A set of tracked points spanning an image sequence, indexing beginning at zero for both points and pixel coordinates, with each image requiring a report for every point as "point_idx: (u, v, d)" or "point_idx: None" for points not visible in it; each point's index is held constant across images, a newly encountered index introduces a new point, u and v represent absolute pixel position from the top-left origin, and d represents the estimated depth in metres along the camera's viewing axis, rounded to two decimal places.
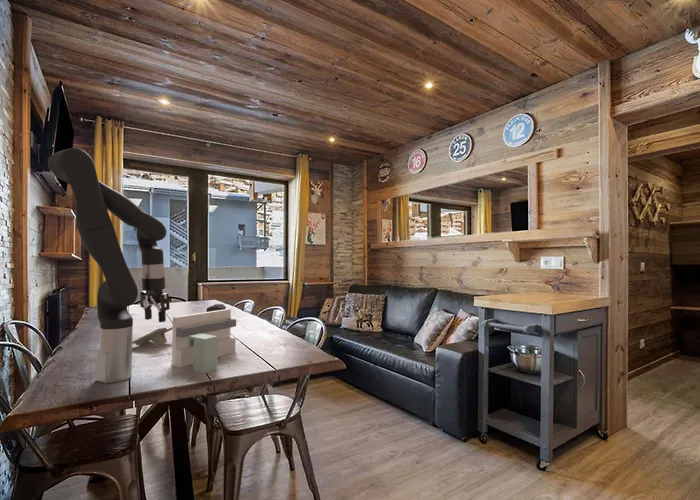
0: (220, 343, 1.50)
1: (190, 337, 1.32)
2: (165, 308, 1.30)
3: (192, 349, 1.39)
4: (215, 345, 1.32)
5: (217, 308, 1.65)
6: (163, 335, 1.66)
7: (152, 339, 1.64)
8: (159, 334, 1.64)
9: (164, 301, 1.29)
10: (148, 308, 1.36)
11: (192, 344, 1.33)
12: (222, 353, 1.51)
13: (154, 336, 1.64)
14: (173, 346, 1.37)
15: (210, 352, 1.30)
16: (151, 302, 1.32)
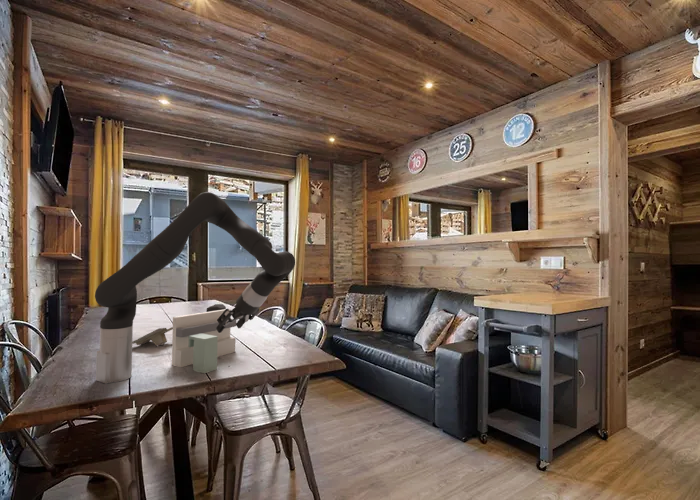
0: (220, 343, 1.50)
1: (190, 337, 1.32)
2: (218, 321, 1.19)
3: (192, 349, 1.39)
4: (215, 345, 1.32)
5: (217, 308, 1.65)
6: (163, 335, 1.66)
7: (152, 339, 1.64)
8: (159, 334, 1.64)
9: (222, 315, 1.18)
10: (243, 319, 1.29)
11: (192, 344, 1.33)
12: (222, 353, 1.51)
13: (154, 336, 1.64)
14: (173, 346, 1.37)
15: (210, 352, 1.30)
16: None
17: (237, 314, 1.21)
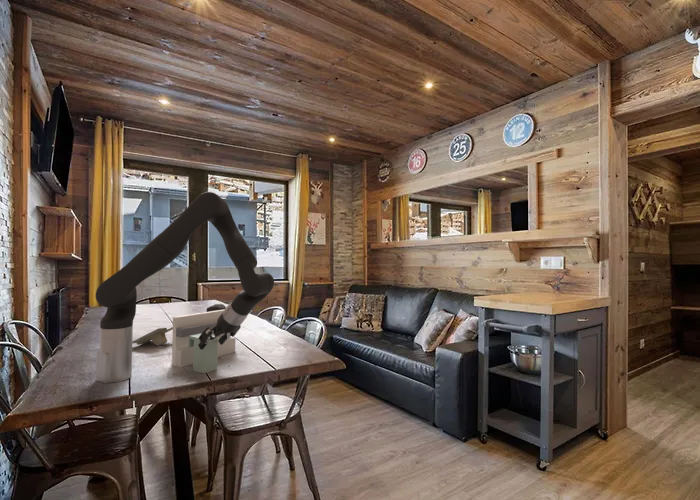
0: None
1: (190, 337, 1.32)
2: (200, 339, 1.23)
3: (192, 349, 1.39)
4: (215, 345, 1.32)
5: (217, 308, 1.65)
6: (163, 335, 1.67)
7: (152, 339, 1.65)
8: (159, 334, 1.65)
9: (203, 334, 1.22)
10: (225, 336, 1.33)
11: (192, 344, 1.33)
12: (222, 353, 1.51)
13: (154, 336, 1.65)
14: (173, 346, 1.37)
15: (210, 352, 1.30)
16: None
17: (218, 332, 1.25)
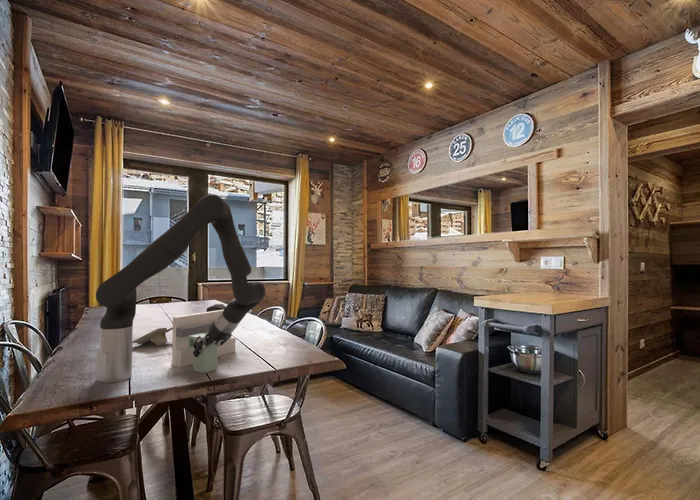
0: None
1: (190, 337, 1.32)
2: (194, 347, 1.26)
3: (192, 349, 1.39)
4: (215, 345, 1.32)
5: (217, 308, 1.65)
6: (164, 335, 1.67)
7: (153, 339, 1.65)
8: (159, 334, 1.65)
9: (195, 342, 1.25)
10: None
11: (192, 344, 1.33)
12: (222, 353, 1.51)
13: (155, 336, 1.65)
14: (173, 346, 1.37)
15: (210, 352, 1.30)
16: None
17: (209, 340, 1.27)
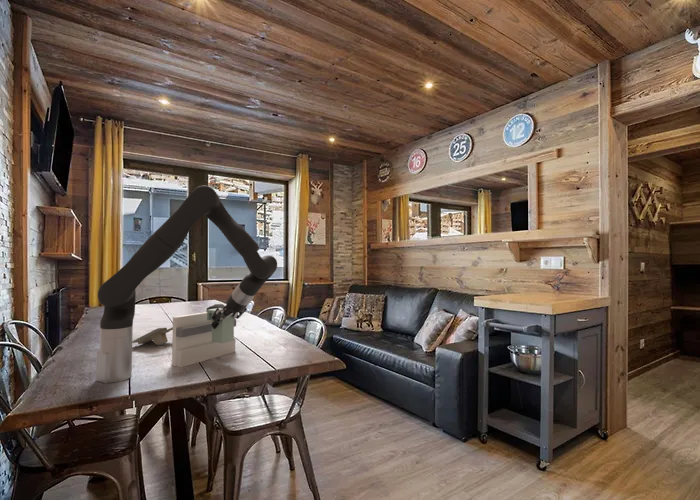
0: (220, 343, 1.50)
1: (208, 310, 1.42)
2: (213, 319, 1.36)
3: (192, 349, 1.39)
4: (232, 318, 1.42)
5: None
6: (164, 335, 1.67)
7: (153, 338, 1.65)
8: (160, 334, 1.65)
9: (214, 314, 1.35)
10: None
11: (210, 317, 1.43)
12: (222, 353, 1.51)
13: (155, 335, 1.65)
14: (173, 346, 1.37)
15: (227, 324, 1.40)
16: None
17: (227, 312, 1.37)
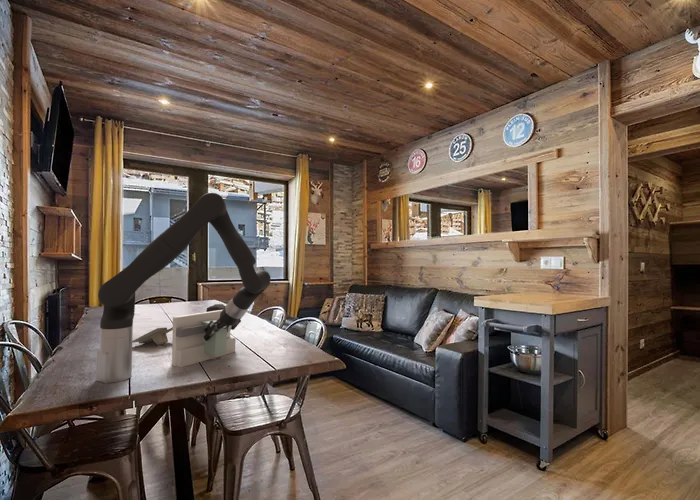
0: None
1: (202, 322, 1.44)
2: (205, 331, 1.38)
3: (192, 349, 1.39)
4: (225, 331, 1.44)
5: (217, 308, 1.65)
6: (164, 334, 1.68)
7: (153, 338, 1.66)
8: (160, 333, 1.66)
9: (208, 326, 1.37)
10: None
11: None
12: None
13: (155, 335, 1.66)
14: (173, 346, 1.37)
15: (220, 337, 1.42)
16: None
17: (221, 325, 1.39)
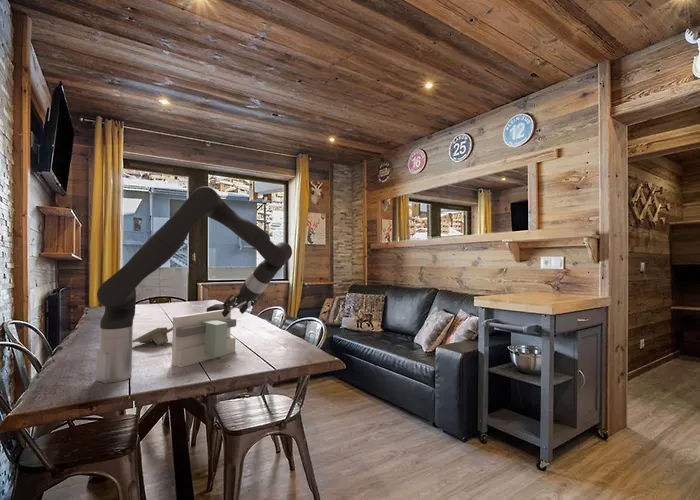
0: None
1: (202, 322, 1.44)
2: (224, 306, 1.32)
3: (192, 349, 1.39)
4: (225, 331, 1.44)
5: (217, 308, 1.65)
6: (165, 334, 1.68)
7: (154, 338, 1.66)
8: (160, 333, 1.66)
9: (227, 301, 1.32)
10: (246, 305, 1.42)
11: None
12: None
13: (156, 335, 1.66)
14: (173, 346, 1.37)
15: (220, 337, 1.42)
16: None
17: (241, 300, 1.34)
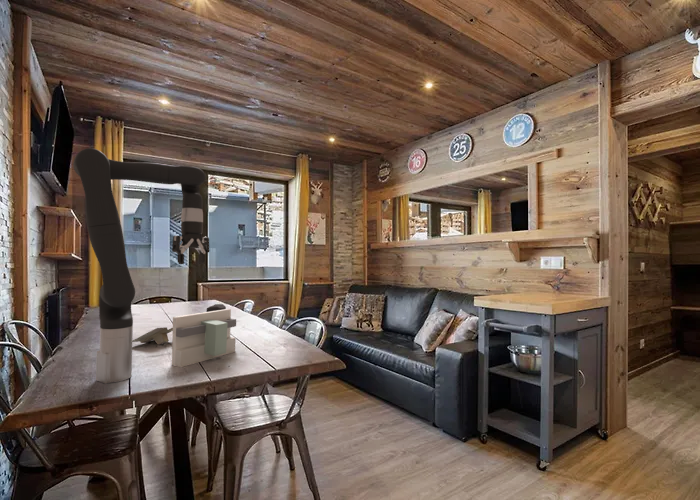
0: None
1: (202, 322, 1.44)
2: (174, 250, 1.31)
3: (192, 349, 1.39)
4: (225, 331, 1.44)
5: (217, 308, 1.65)
6: (165, 334, 1.68)
7: (154, 338, 1.67)
8: (160, 333, 1.66)
9: (173, 242, 1.32)
10: (200, 253, 1.41)
11: None
12: None
13: (156, 335, 1.67)
14: (173, 346, 1.37)
15: (220, 337, 1.42)
16: None
17: (186, 238, 1.34)
